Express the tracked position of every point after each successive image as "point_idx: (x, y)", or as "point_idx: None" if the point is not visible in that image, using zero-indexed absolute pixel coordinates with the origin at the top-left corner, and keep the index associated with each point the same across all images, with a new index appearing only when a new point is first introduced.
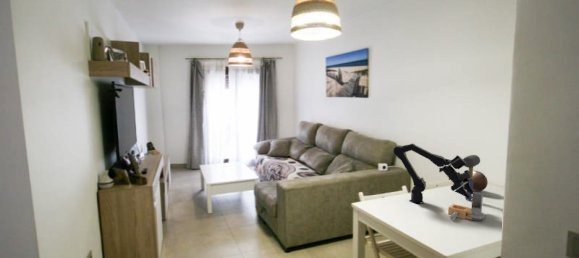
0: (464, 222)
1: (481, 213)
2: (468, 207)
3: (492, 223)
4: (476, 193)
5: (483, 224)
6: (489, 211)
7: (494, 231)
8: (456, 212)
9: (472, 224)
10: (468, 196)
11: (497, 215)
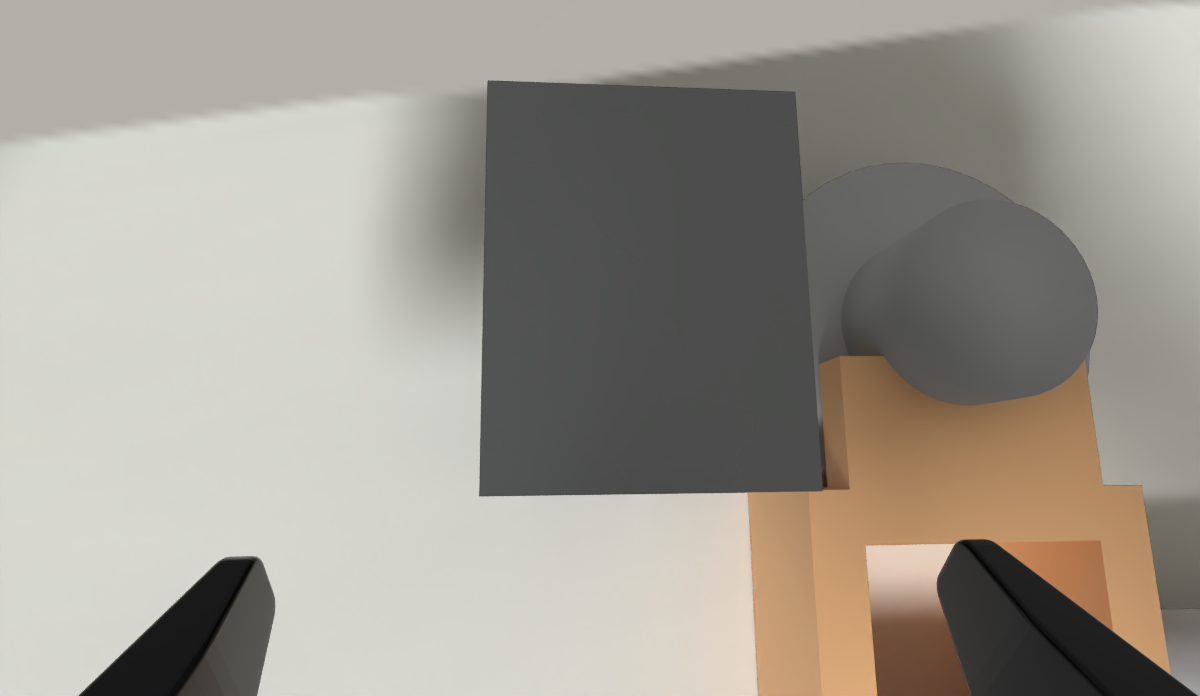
0: (1166, 445)
1: None
2: (817, 518)
3: (840, 99)
4: (722, 323)
5: None
6: (217, 246)
7: (1133, 30)
8: (1189, 658)
9: (1140, 322)
10: (1028, 582)
11: (362, 98)
